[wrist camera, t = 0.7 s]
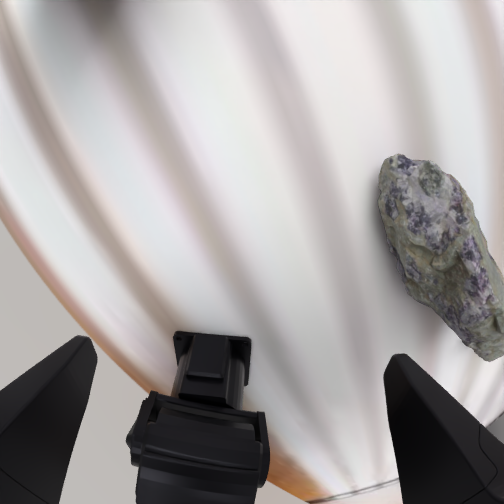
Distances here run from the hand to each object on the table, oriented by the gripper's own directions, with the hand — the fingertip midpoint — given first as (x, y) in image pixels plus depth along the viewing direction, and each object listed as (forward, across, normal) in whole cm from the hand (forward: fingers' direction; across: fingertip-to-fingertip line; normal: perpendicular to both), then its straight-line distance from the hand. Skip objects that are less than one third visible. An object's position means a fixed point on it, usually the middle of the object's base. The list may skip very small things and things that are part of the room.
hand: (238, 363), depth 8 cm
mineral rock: (+13, -14, +1) cm, 19 cm away
